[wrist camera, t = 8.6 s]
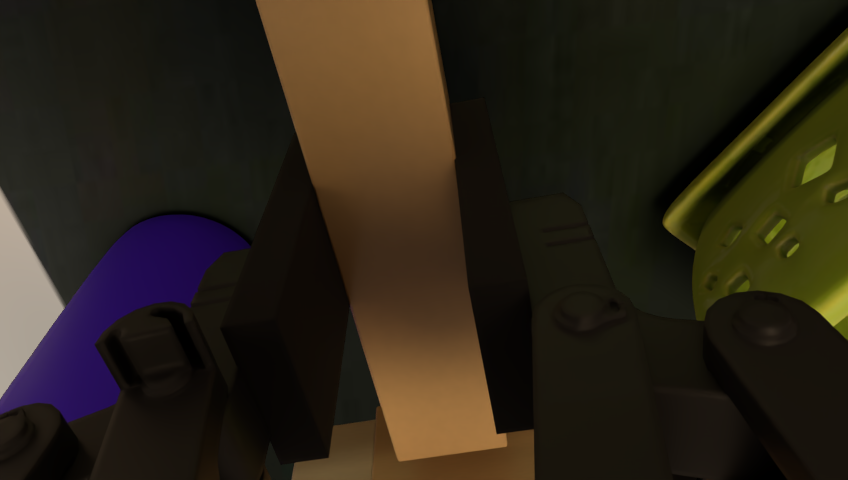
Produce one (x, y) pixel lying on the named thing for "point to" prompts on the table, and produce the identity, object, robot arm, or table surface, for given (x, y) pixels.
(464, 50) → the table surface
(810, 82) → the flower pot
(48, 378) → the bottle
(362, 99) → the wooden mallet
